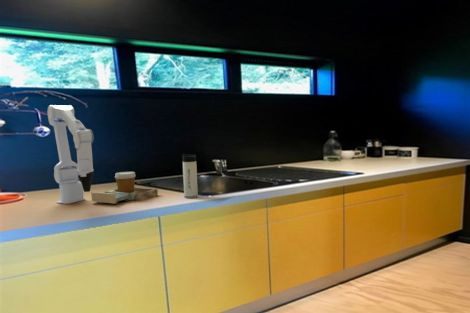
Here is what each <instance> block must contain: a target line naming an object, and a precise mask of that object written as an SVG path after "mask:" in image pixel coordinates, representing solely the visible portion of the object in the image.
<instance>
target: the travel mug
mask: <svg viewBox="0 0 470 313" xmlns="http://www.w3.org/2000/svg"><path fill="white" fill-rule="evenodd" d="M197 168H198V167H197V155H196V154H189V153H188V154H187V153H182V175H183V176H182V177H183V197H184V199H195V197H196V198H198V197H197V196H199V194H198V193H199V192H198V170H197Z"/></svg>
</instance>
